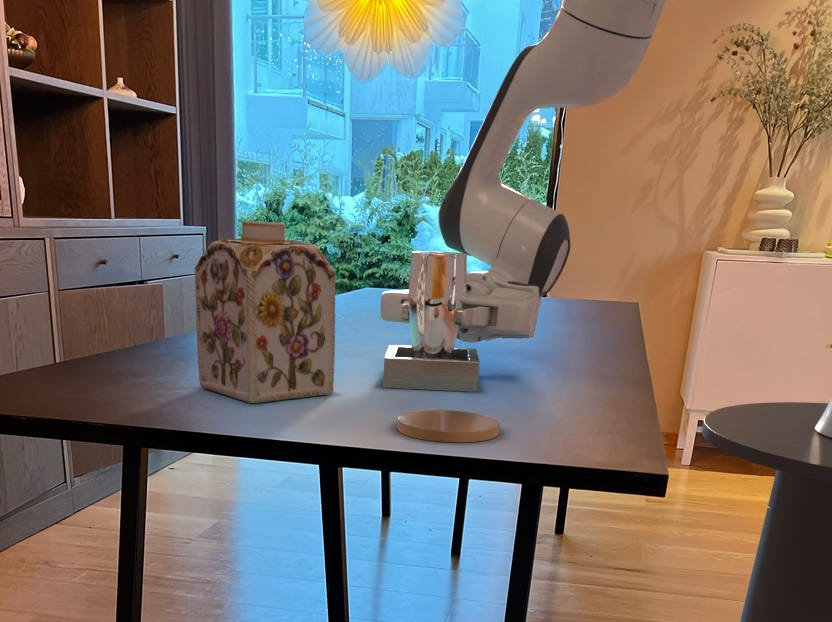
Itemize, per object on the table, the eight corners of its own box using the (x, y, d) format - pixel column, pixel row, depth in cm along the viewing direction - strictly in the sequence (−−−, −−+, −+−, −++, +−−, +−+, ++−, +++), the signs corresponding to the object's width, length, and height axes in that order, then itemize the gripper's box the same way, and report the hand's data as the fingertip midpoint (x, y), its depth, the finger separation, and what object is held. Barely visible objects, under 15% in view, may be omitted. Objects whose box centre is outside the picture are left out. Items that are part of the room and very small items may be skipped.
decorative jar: (196, 387, 105) (189, 218, 97) (278, 379, 112) (277, 220, 104) (252, 405, 97) (248, 222, 89) (337, 395, 103) (341, 223, 96)
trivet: (495, 422, 93) (496, 412, 92) (501, 444, 84) (502, 434, 83) (399, 417, 93) (400, 408, 93) (395, 439, 84) (395, 429, 84)
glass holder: (474, 376, 118) (476, 348, 117) (477, 392, 108) (479, 362, 106) (387, 372, 119) (389, 345, 117) (383, 387, 109) (384, 357, 107)
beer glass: (442, 388, 109) (452, 255, 102) (392, 381, 112) (399, 251, 106) (467, 381, 114) (478, 253, 108) (419, 374, 118) (427, 250, 111)
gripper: (408, 277, 123) (358, 282, 112) (551, 286, 114) (512, 293, 103) (405, 325, 126) (357, 334, 115) (545, 338, 117) (506, 350, 106)
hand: (431, 315), depth 109 cm, fingers closed on beer glass, 6 cm apart
